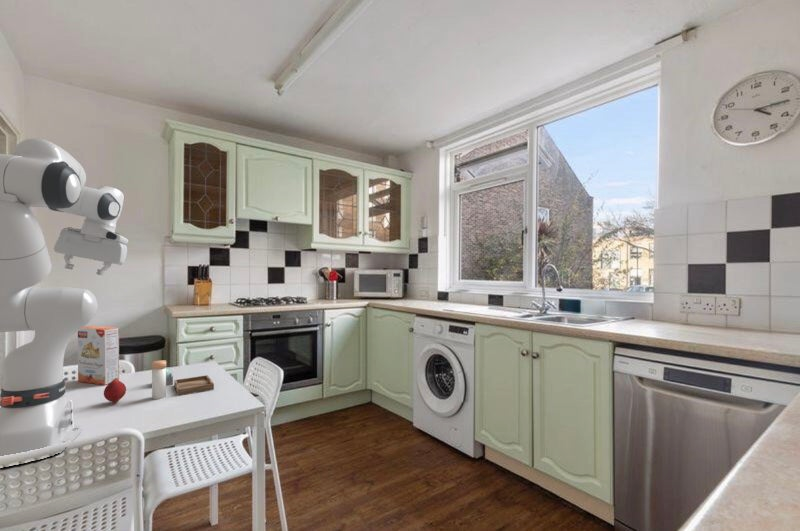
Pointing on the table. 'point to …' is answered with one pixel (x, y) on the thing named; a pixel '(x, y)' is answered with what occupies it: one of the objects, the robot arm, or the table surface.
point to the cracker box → (98, 354)
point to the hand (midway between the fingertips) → (84, 272)
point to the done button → (167, 372)
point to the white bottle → (159, 379)
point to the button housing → (169, 380)
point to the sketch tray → (193, 385)
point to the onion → (114, 391)
